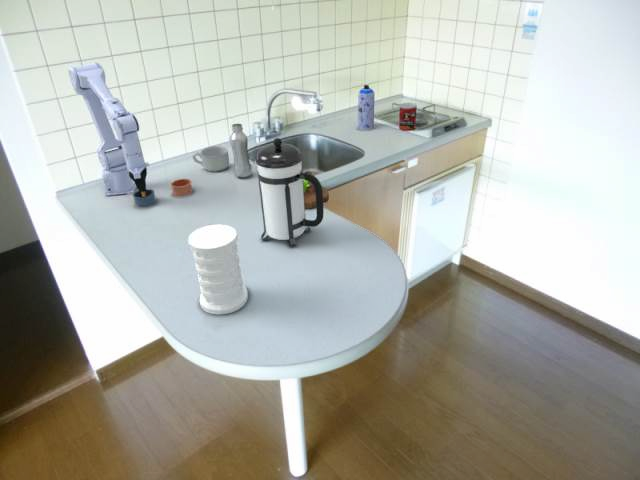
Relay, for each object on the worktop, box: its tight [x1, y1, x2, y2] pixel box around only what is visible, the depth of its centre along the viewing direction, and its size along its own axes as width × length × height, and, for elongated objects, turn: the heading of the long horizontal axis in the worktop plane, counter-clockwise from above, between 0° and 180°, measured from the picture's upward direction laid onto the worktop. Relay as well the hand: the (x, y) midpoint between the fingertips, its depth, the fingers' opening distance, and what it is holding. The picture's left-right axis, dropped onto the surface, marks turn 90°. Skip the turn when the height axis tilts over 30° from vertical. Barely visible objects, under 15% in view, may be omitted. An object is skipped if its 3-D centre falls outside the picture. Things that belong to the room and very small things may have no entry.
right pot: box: [170, 178, 194, 197], centre depth 167 cm, size 7×7×4 cm
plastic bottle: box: [229, 123, 253, 178], centre depth 174 cm, size 6×7×20 cm
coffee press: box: [254, 137, 325, 248], centre depth 131 cm, size 17×16×30 cm
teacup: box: [192, 145, 230, 173], centre depth 184 cm, size 14×11×8 cm
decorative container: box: [187, 223, 249, 315], centre depth 109 cm, size 12×12×18 cm
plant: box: [303, 170, 330, 210], centre depth 158 cm, size 20×20×11 cm
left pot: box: [132, 188, 158, 208], centre depth 161 cm, size 7×7×4 cm
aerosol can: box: [357, 84, 376, 132], centre depth 218 cm, size 8×8×20 cm
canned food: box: [398, 102, 418, 132], centre depth 218 cm, size 8×8×11 cm
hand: (142, 190), depth 159 cm, fingers closed
